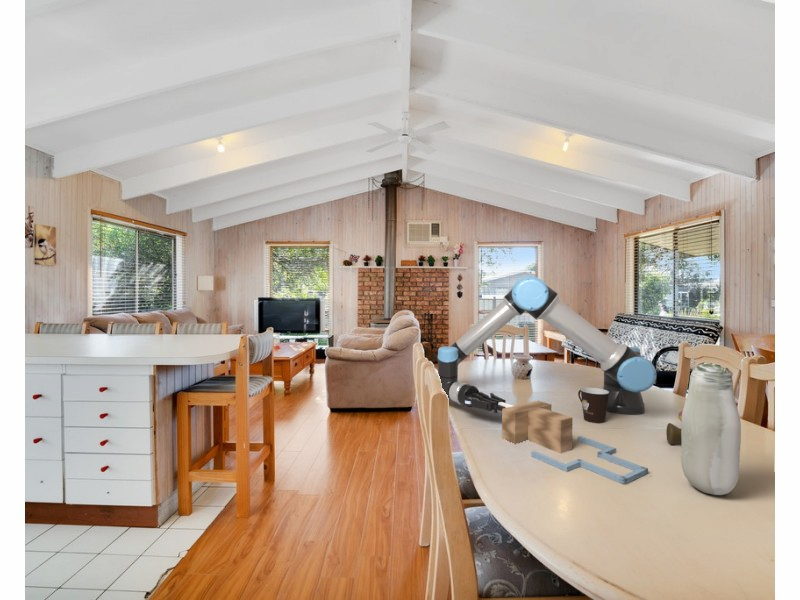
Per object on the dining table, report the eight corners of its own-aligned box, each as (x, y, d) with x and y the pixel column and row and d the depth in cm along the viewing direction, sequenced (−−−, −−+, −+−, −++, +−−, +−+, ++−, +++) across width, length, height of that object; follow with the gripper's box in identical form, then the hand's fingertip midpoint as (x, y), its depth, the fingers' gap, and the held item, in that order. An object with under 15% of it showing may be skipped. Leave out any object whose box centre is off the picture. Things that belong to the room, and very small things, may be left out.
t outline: (531, 456, 108) (531, 451, 108) (580, 439, 119) (580, 435, 119) (610, 491, 89) (610, 485, 89) (659, 467, 101) (659, 463, 101)
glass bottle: (749, 504, 84) (753, 370, 83) (695, 500, 86) (698, 368, 85) (720, 481, 94) (723, 361, 93) (671, 478, 95) (674, 360, 94)
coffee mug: (611, 425, 132) (612, 394, 131) (583, 423, 133) (584, 393, 133) (601, 414, 143) (602, 386, 143) (575, 412, 145) (576, 384, 144)
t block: (501, 438, 120) (502, 408, 120) (537, 428, 129) (538, 400, 128) (547, 458, 107) (547, 424, 106) (584, 445, 115) (584, 414, 115)
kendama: (677, 463, 105) (662, 435, 123) (723, 471, 101) (701, 441, 119) (678, 441, 104) (663, 416, 122) (725, 448, 100) (702, 421, 119)
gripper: (478, 401, 149) (529, 419, 129) (450, 407, 142) (500, 427, 122) (478, 381, 149) (529, 396, 129) (450, 386, 142) (500, 402, 122)
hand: (515, 411), depth 125 cm, fingers closed
